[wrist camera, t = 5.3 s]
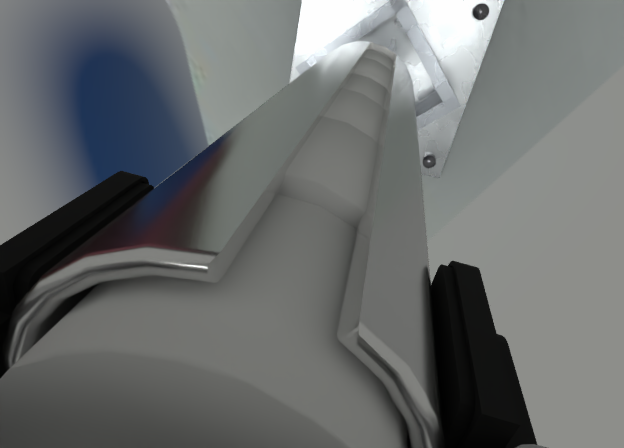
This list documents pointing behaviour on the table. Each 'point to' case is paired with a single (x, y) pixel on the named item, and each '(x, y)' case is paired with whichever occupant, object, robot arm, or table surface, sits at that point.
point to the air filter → (249, 290)
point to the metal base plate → (410, 53)
